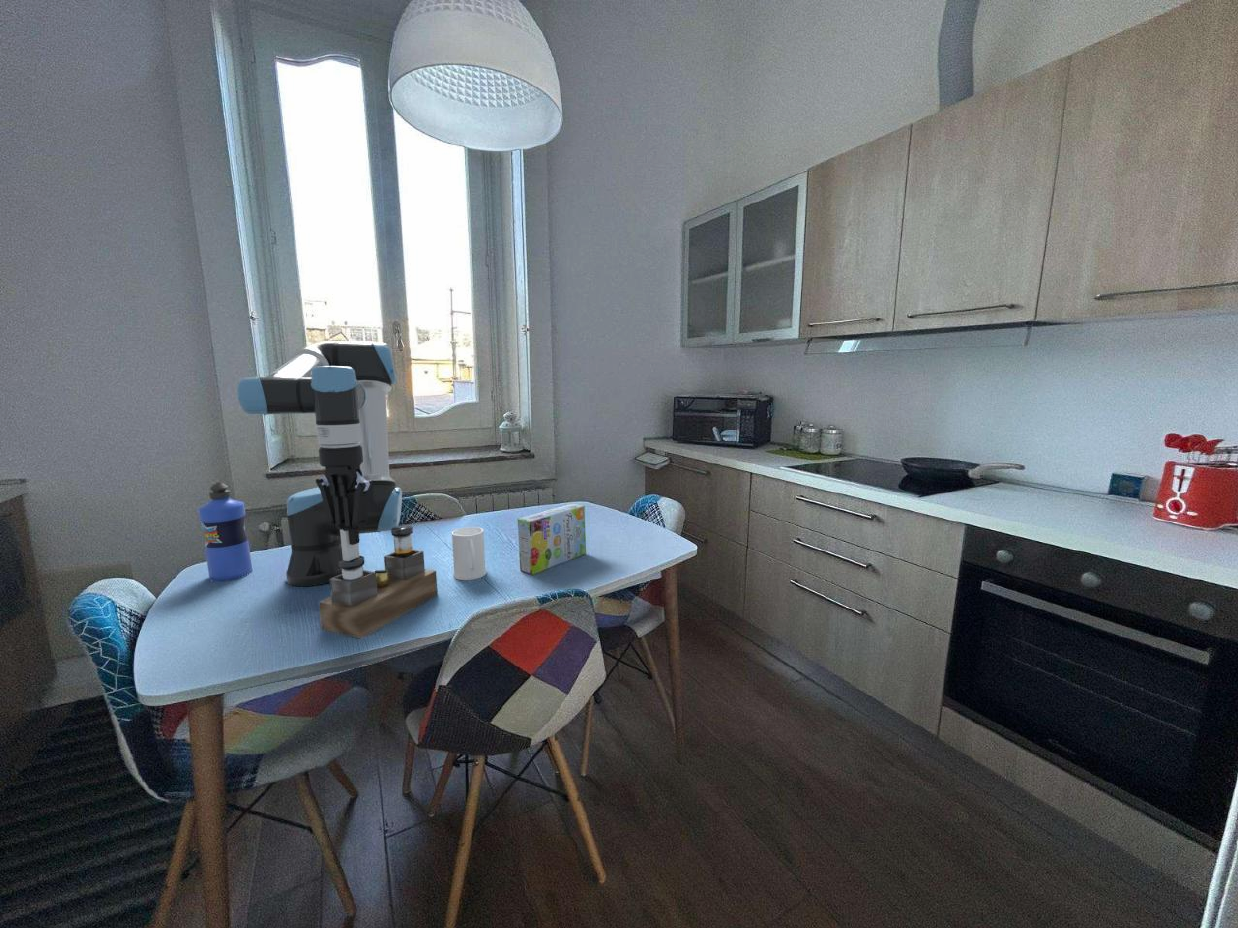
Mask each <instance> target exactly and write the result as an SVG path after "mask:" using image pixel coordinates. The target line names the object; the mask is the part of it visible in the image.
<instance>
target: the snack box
mask: <svg viewBox="0 0 1238 928" xmlns="http://www.w3.org/2000/svg"><path fill="white" fill-rule="evenodd" d="M585 507H586V506H585V505H582V504H577V503H570V504H566V505H563V506H560V507H555V508H551V509H547V510H545V511H541V512H538V513H534V514H530V515H527V516H523V517H520V518H517V530H518V531H517V533H518V534H517V535H518V548H519V549H518V552H519V569H520V571H521V572H524V573H526V574H529V575H532V576H533V575H535V574H538V573H541V572H544V571H545V570H548V569H551V568H553V567H556V566H558V565H560V564H563V563H565V562H566V563H567V562H568V561H571V560H573V559H575V558H578V557H581V556H584V555H585V554H587V541H586V539H587V537H586V508H585Z"/></svg>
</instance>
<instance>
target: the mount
mask: <svg viewBox="0 0 1238 928" xmlns="http://www.w3.org/2000/svg"><path fill="white" fill-rule="evenodd" d="M424 554H425V553H424V551H423V550H418V549H413V555H411V556H408V557H406V558H399V557H395V551H394V552H391V553H389V554H386V555H383V560H384V562H383V564H384V570H387V571H388V575H389V585H388V586H387V587H383V588H377V580H376V572H375V571H371V570H370V571H369V570H365V569H363V577H361V578H359V579H357V580H354V581H352V582H351V581H346V580H343V577H342V574H340V575H338V576H336V577H333V578H331V579H330V582H329V587H330V596H328V597H326V598H325V599H322V600H320V601H318V609H319V619H320V627H321V630H324V631H327V632H331V633H336V634H341V635H344V636H347V637H348V636H349V637H353V638H357V639H361V640H362V639H364V638H365V637H367V636H369V635H371V634H372V633H374V632H376V631H377V630H379V629H381V628H382V627H384V626H386V625H387V624H389V623H391V622H392V621H395V620H396V619H398V618H400V617H401V616H403V615H405V614H406V613H408V612H410V611H411V610H414V609H415V608H416V607H418V606H420V605H422V604H424V603H426V602H427V601H429V600H430V599H432V598H434V597H436V596H437V595H438V593H439V592H438V579H437V570H433V569H427V568H425V555H424Z"/></svg>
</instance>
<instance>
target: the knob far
mask: <svg viewBox="0 0 1238 928" xmlns="http://www.w3.org/2000/svg"><path fill="white" fill-rule="evenodd" d="M390 531H391V536H393V544H394V552H395V557H399V558H406V557H408V556H411V555H413V550H414V548H413V539H412V534H413V533H414V528H413V526H412V525H398V526H397V527H394V528H392V529H391V530H390Z"/></svg>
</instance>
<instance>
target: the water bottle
mask: <svg viewBox="0 0 1238 928" xmlns="http://www.w3.org/2000/svg"><path fill="white" fill-rule="evenodd" d="M228 488H229V486H228V485H227V484H225V483H224V482H215V483H213V484H212V485H211V486H210V488H209V490H210V492H208V495H209V499H210V501H209V502H207V503H205V504H204V505H201V506H199V507H198V517H199V522H200V523H201V525H202V530H203V532H204V535H205V537H204V539H205V540H204V550H205V558H206V565H207V573H208V579H209V581H211V580H212V581H211V582H227V581H226V580H228V581H232V579H234V580H237V579H236V578H238V579H240V578H239V577H241V578H243V577H242V576H244V577H246V576H248V575H250V574H251V573H252V572H253V566H252V559H251V558H252V557H251V552H250V549H251V548H250V543H249V538H248V535H247V531H246V529H245V528H246V507H245V502H243V501H239V500H235V499H233V498H231V490H229V489H228ZM251 571H252V572H251ZM249 573H250V574H249ZM247 574H248V575H247ZM245 575H246V576H245Z"/></svg>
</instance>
